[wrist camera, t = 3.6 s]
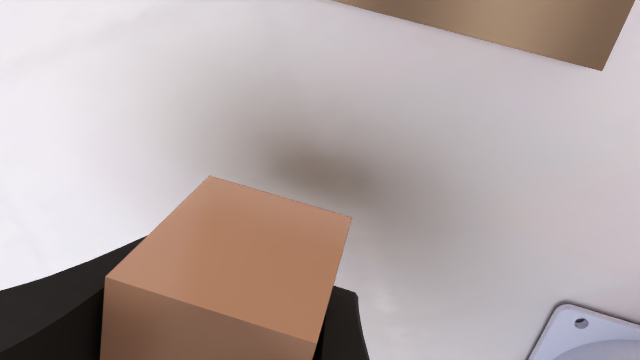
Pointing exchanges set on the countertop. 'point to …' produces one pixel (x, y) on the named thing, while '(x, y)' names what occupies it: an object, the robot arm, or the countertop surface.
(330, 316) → the robot arm
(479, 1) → the walnut board
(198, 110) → the countertop surface
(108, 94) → the countertop surface
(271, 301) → the terracotta block
